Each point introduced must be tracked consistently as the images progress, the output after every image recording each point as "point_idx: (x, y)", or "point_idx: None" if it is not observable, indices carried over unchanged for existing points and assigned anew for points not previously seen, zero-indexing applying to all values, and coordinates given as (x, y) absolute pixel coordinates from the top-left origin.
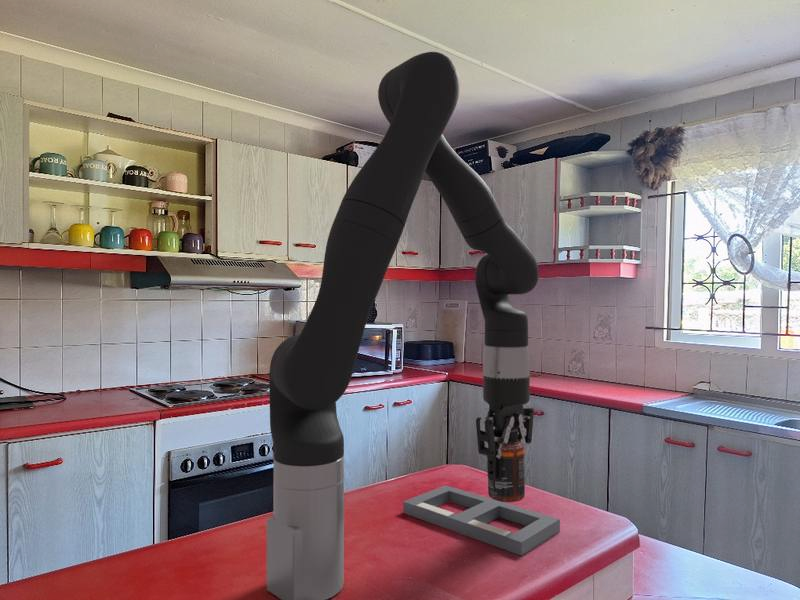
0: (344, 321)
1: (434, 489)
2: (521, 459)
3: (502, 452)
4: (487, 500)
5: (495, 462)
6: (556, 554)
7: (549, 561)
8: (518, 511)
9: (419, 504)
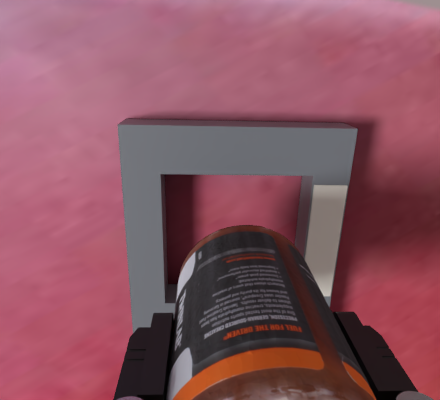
0: None
1: None
2: (277, 325)
3: None
4: None
5: (407, 385)
6: (276, 52)
7: (328, 47)
8: (160, 245)
9: None
